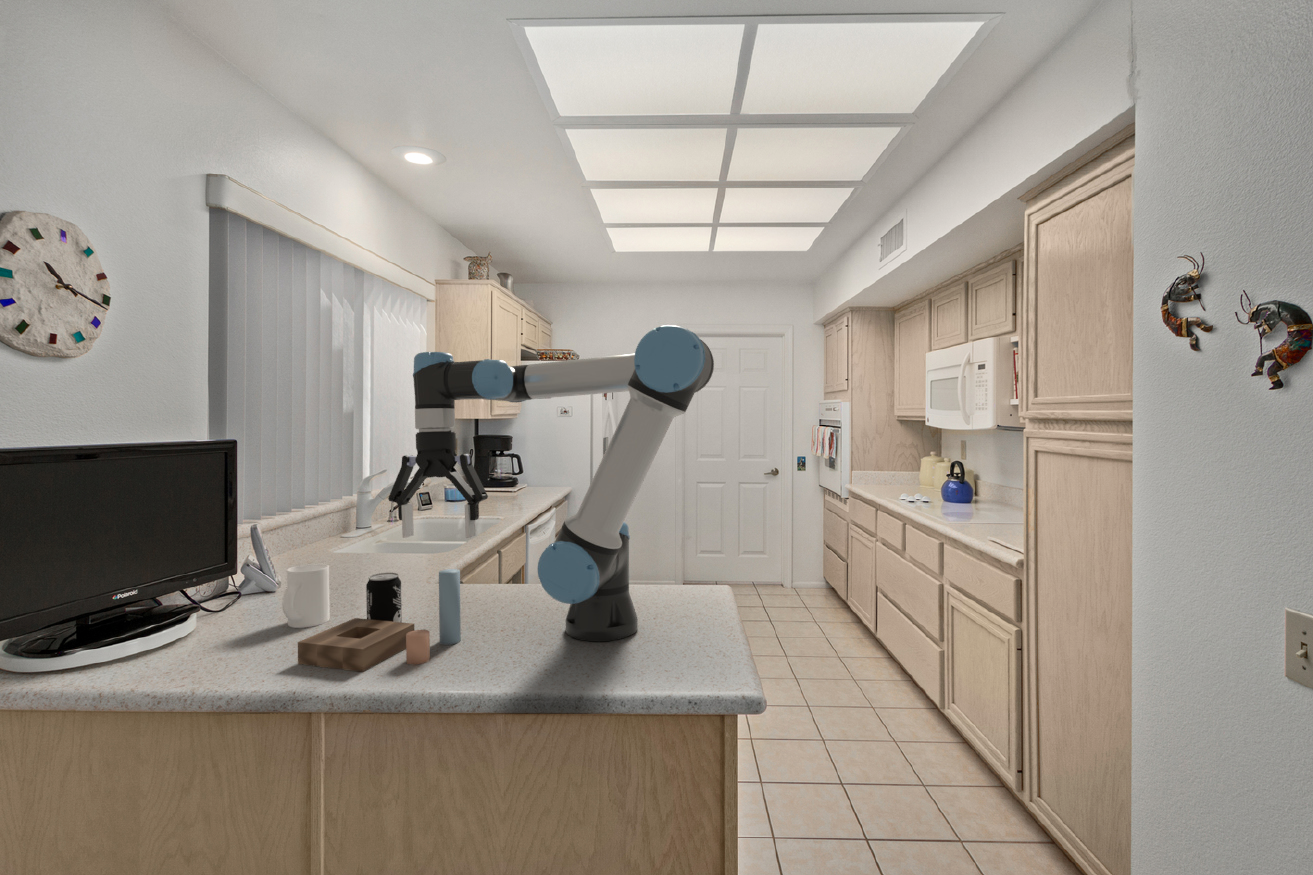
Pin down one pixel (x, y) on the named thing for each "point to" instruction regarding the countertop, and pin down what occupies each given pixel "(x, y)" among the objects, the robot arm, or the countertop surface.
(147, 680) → the countertop surface
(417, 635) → the short dowel
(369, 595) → the beverage can
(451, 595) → the long dowel
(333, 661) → the hole block
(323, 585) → the mug
